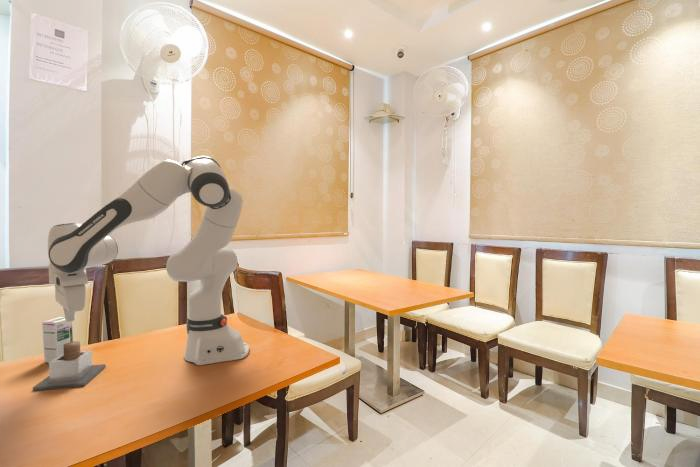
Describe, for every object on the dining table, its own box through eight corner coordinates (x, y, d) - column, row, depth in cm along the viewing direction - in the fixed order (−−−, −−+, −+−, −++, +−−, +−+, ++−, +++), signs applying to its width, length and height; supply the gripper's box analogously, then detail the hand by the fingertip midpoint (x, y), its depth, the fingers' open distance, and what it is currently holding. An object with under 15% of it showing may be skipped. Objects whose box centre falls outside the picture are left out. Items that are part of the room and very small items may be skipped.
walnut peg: (83, 373, 107) (82, 342, 106) (69, 379, 103) (67, 347, 103) (76, 371, 109) (75, 340, 108) (61, 376, 105) (60, 344, 104)
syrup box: (57, 364, 116) (55, 322, 115) (43, 362, 117) (41, 321, 116) (74, 357, 121) (72, 317, 121) (60, 355, 123) (59, 316, 122)
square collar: (105, 367, 114) (104, 346, 113) (84, 386, 101) (83, 363, 101) (60, 370, 111) (59, 349, 111) (32, 390, 98) (31, 367, 98)
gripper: (48, 273, 109) (49, 315, 109) (61, 282, 95) (63, 330, 96) (73, 270, 113) (74, 311, 114) (89, 279, 100) (90, 325, 101)
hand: (69, 320), depth 105 cm, fingers closed
